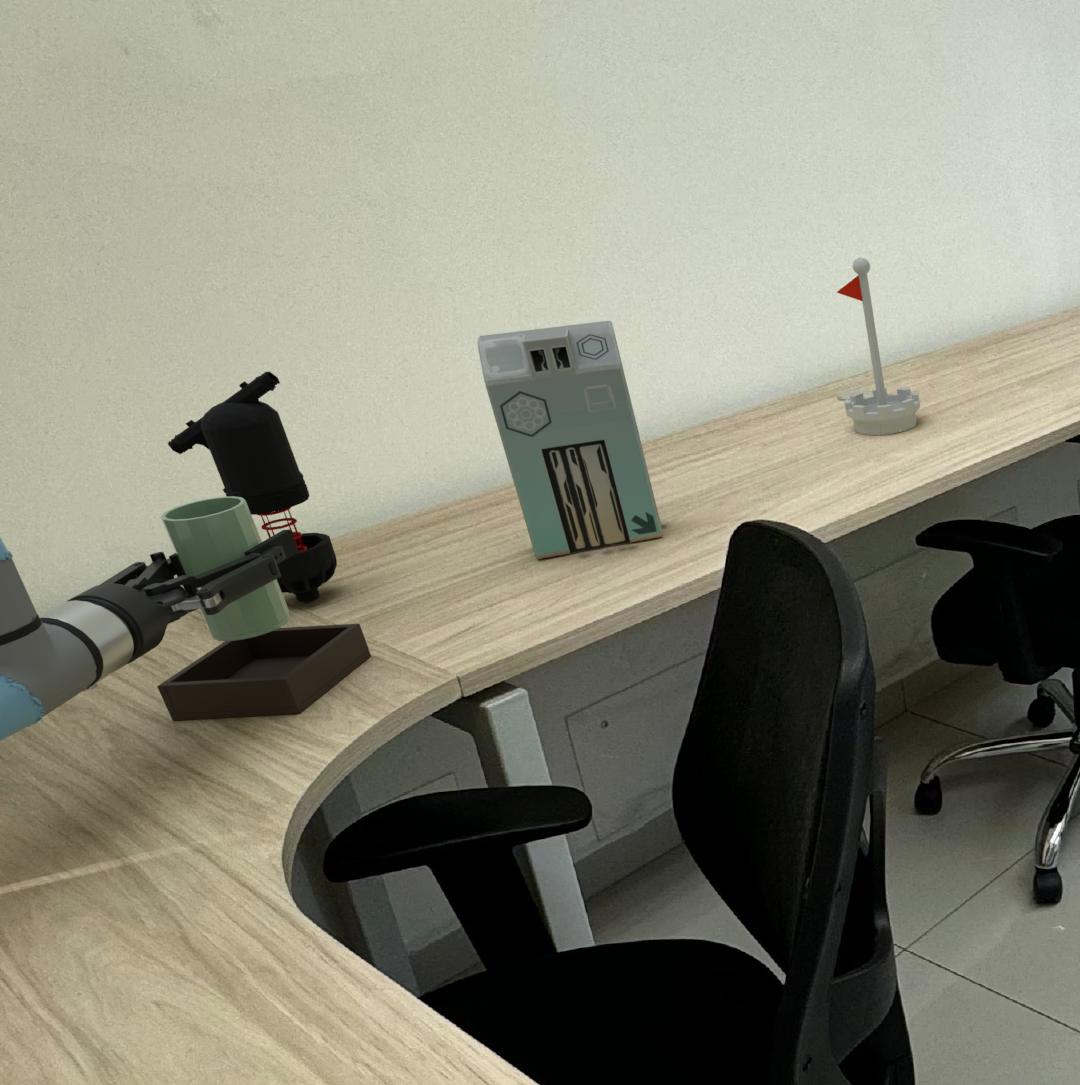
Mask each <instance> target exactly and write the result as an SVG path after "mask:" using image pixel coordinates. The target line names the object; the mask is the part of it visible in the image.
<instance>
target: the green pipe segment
mask: <svg viewBox="0 0 1080 1085" xmlns="http://www.w3.org/2000/svg"><path fill="white" fill-rule="evenodd" d="M160 520H161V522H162V524H163V526H164V529H165V531H166V533H167V536H168V538H169V541H170V543H171V545H172V547H173V548H172V549H173V550H174V553H176V555H177V557H178V559H179V562H180V564H181V566H182V569H183V571H184V574H185V575H186V576H196V575H198V574H201V573H203V572H206V571H208V570H211V569H214V568H216V567H219V566H221V565H224V564H227V563H229V562H232V561H234V560H237V559H240V558H242V557H245V556H246V555H245V553H244V552H246V551H248V550H249V549H251V548H253V547H255V546H256V545H258V544H260V543H261V542H263V541H262V538H261V536H260V534H259V531H258V528H257V526H256V523H255V520H254V518H253V515H251V513H250V510H249V508H248V505H247V503H246V500H245V499H243V498H242V497H235V496H229V497H227V496H217V497H211V498H205V499H204V498H203V499H199V500H196V501H191V502H187V503H184V504H181V505H178V506H175V507H173V508H171V509H169V510H166V511H164V512H163V513H162V514H161V515H160ZM199 611H200V613H201V616H202V618H203V621H204V624H205V625H206V628H207V629H208V632H209V634H210V635H211V638H212V639H214V641H215V640H216V641H217V642H219V641H220V642H225V641H236V640H242V639H248V638H252V637H256V636H260V635H263V634H266V633H269V632H271V631H274V630H276V629H278V628H283V626H285V625H287V623H289V622H290V620H291V614H290V610H289V607H288V605H287V602H286V599H285V597H284V593H282V592H281V589H280V587H279V584H278V582H277V579H275V580H274V581H272V582H270V583H268V584H266V585H264V586H262V587H260V588H258V589H257V590H255V591H253V592H251V593H249V594H247V595H245V596H243V597H241V598H240V599H238V600H236V601H234V602H232V603H230V604H228V605H227V606H226V607H225V608H224V609H222V610H221V611H220V612H219V613H217V614H214V615H206V613H205V611H204V608H200V609H199Z"/></svg>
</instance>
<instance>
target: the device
mask: <svg viewBox="0 0 1080 1085" xmlns="http://www.w3.org/2000/svg"><path fill="white" fill-rule="evenodd" d="M477 350H478V356H479V361H480V366H481V371H482V376H483V382H484V384H485V388H486V393H487V395H488V398H489V402H490V406H491V409H492V412H493V417H494V420H495V423H496V426H497V429H498V433H499V436H500V440H501V444H502V447H503V450H504V453H505V454H504V455H505V458H506V461H507V464H508V467H509V468H508V469H509V472H510V474H511V478H512V481H513V485H514V488H515V491H516V495H517V499H518V502H519V505H520V509H521V513H522V515H523V516H522V517H523V519H524V522H525V525H526V526H525V527H526V529H527V533H528V536H529V539H530V540H529V541H530V543H531V546H532V550H533V553H534V557H535V559H536V560H542V559H549V558H554V557H559V556H565V555H570V554H576V553H581V552H582V553H583V552H587V551H592V550H593V551H594V550H597V549H603V548H608V547H614V546H620V545H625V544H631V543H636V542H641V541H642V542H643V541H647V540H648V541H649V540H652V539H658V538H662V537H663V535H664V534H663V529H662V524H661V523H662V522H661V518H660V515H659V511H658V506H657V502H656V499H655V494H654V489H653V486H652V482H651V478H650V474H649V470H648V465H647V462H646V461H647V460H646V456H645V453H644V449H643V445H642V444H643V443H642V441H641V436H640V432H639V429H638V425H637V421H636V415H635V412H634V408H633V404H632V399H631V396H630V391H629V387H628V384H627V378H626V375H625V370H624V367H623V362H622V358H621V354H620V350H619V345H618V341H617V338H616V333H615V329H614V324H613V322H612V321H611V320H602V321H593V322H586V323H585V322H583V323H577V324H568V325H567V324H566V325H560V326H559V325H558V326H550V327H543V328H542V327H541V328H536V329H525V330H519V331H518V330H517V331H510V332H509V331H508V332H502V333H501V332H500V333H493V334H492V333H491V334H485V335H479V337H478V338H477Z"/></svg>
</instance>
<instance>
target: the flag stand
mask: <svg viewBox="0 0 1080 1085" xmlns="http://www.w3.org/2000/svg"><path fill="white" fill-rule="evenodd" d="M870 269H871V263H870V262H869V260H868V259H866V258H865V257H861V256H860V257H857V258H855V259H854V260H853V261H852V270H853V271H854V273H856V274H857V276H855V277H854V278H852V280H850V281H849V282H848V283H846V284H845V285H844V286H842V287H841V288H840V289H839V290H837V291H836V293H837V294H840V295H843V296H844V297H845V296H846V297H847V298H848V297H849V298H852V299H854V300H857V301H860V302H861V303H862V309H863V314H864V322H865V329H866V334H867V340H868V341H867V342H868V348H869V353H870V360H871V366H872V372H873V379H874V385H875V388H874V389H871V392H872V395H869V396H865V397H864V393H863V392H856V393H852V394H851V395H849V399H844V400H843V401H844V402H843V403H844V408H845V414H846V416H847V417H848V418H850V419H851V420H853V426H854V430H855V432H857V433H858V434H860V435H867V436H886V435H892V434H897V433H898V434H899V433H902V432H906V431H909V430H911V429H913V428H915V427H916V426H917V416H916V414H917V412H918V411H919V409H920V408H921V402H920V395H919V392H918V391H912V392H911V388H907V387H898V388H896V393H888V392H887V387H885V382H884V376H883V370H882V362H881V355H880V349H879V344H878V343H879V342H878V337H877V336H878V335H877V331H876V330H877V329H876V323H875V317H874V311H873V303H872V296H871V291H870V284H869V278H868V273H869V272H870ZM900 430H901V431H900Z"/></svg>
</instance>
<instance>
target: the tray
mask: <svg viewBox="0 0 1080 1085" xmlns="http://www.w3.org/2000/svg"><path fill="white" fill-rule="evenodd" d="M371 657H372V654H371V651H370V649H369V646H368V643H367V640H366V637H365V635H364V632H363V629H362V627H361V624H360V623H348V624H347V623H346V624H327V625H307V626H289V627H280V628H278V629H276V630H274V631H271V632H269V633H266V634H263V635H260V636H256V637H252V638H248V639H242V640H236V641H222V642H221V643H220V644H218V645H217V646H215V647H214V648H213V649H211V650H210V651H208V652H206V653H205V654H204V655H202V656H200V657H199V658H197V659H196V660H194V661H193V662H192V663H190V664H188V665H187V666H185V667H184V668H182V669H180V670H179V671H178V672H176V673H175V674H173V675H172V676H171V677H169V678H167V679H165V681H162V682H161V683H160V684H158V685H157V686H156V687H157V690H158V692H159V694H160V696H161V698H162V700H163V702H164V705H165V707H166V709H167V712H168V714H169V716H170V718H171V720H172V721H175V722H176V721H192V720H193V721H194V720H209V719H211V720H212V719H228V718H229V719H230V718H246V717H248V718H249V717H265V716H282V715H300V714H301V713H302V712H304V711H305V710H307V709H308V708H309V707H310V706H312V704H313V703H315V702H316V701H317V700H319V699H320V698H321V697H322V696H324V695H325V694H326V693H327V692H328V691H330V690H331V689H332V688H333V687H335V686H336V685H337V684H339V683H340V682H341V681H342V680H344V678H346V677H347V676H349V674H351V673H352V672H353V671H355V670H356V669H357V668H358V667H360V666H361V665H362V664H363V663H364V662H366V661H368V659H369V658H371Z"/></svg>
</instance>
